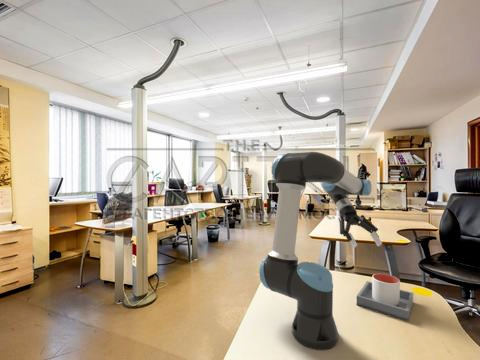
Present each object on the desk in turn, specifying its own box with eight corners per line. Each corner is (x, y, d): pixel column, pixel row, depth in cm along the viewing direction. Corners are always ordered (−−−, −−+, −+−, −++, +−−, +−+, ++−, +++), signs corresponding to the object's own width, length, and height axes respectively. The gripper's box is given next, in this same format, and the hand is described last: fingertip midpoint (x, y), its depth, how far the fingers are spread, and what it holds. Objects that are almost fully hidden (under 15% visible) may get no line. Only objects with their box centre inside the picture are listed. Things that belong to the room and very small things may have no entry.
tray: (356, 305, 103) (356, 295, 103) (367, 289, 116) (367, 281, 116) (408, 321, 91) (408, 311, 91) (413, 302, 105) (413, 292, 105)
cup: (398, 299, 105) (399, 276, 105) (400, 310, 97) (400, 285, 96) (372, 293, 110) (372, 271, 110) (371, 304, 102) (371, 280, 101)
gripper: (362, 212, 132) (385, 248, 118) (322, 214, 126) (340, 251, 111) (370, 204, 127) (394, 240, 113) (328, 204, 121) (348, 243, 106)
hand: (367, 245), depth 112 cm, fingers open, 13 cm apart
